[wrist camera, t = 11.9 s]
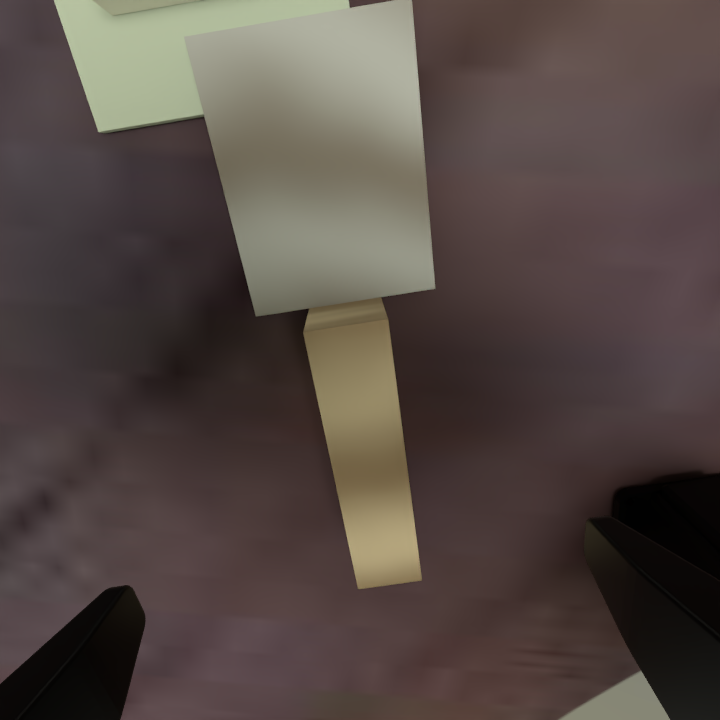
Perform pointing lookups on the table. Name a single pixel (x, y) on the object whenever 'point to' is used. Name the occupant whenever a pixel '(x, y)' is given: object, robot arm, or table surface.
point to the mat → (156, 53)
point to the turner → (332, 229)
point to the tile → (135, 5)
